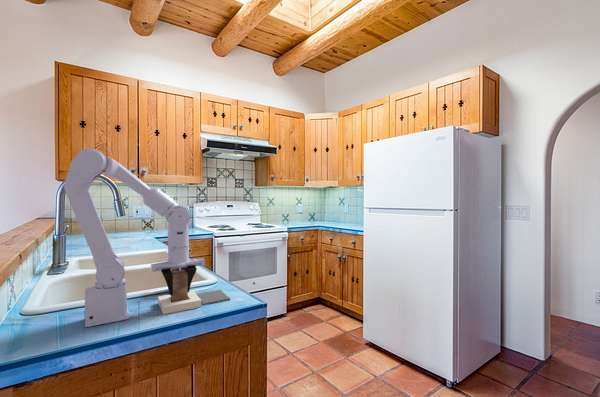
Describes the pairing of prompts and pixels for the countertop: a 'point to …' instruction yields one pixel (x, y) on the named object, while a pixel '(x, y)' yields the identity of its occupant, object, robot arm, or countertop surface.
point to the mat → (212, 297)
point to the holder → (178, 303)
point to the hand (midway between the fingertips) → (179, 292)
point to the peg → (179, 286)
